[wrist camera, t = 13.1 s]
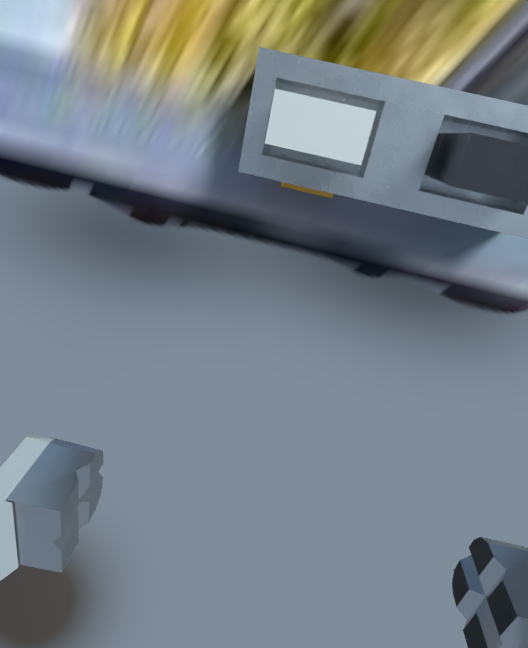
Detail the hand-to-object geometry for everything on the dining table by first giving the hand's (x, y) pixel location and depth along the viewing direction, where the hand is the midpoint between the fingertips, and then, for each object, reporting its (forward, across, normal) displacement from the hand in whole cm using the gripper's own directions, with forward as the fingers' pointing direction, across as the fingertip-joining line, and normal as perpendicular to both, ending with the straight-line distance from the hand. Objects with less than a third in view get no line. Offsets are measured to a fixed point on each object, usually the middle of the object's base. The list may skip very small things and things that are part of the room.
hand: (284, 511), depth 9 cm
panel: (+31, 0, -6) cm, 31 cm away
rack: (+32, -6, -6) cm, 33 cm away
